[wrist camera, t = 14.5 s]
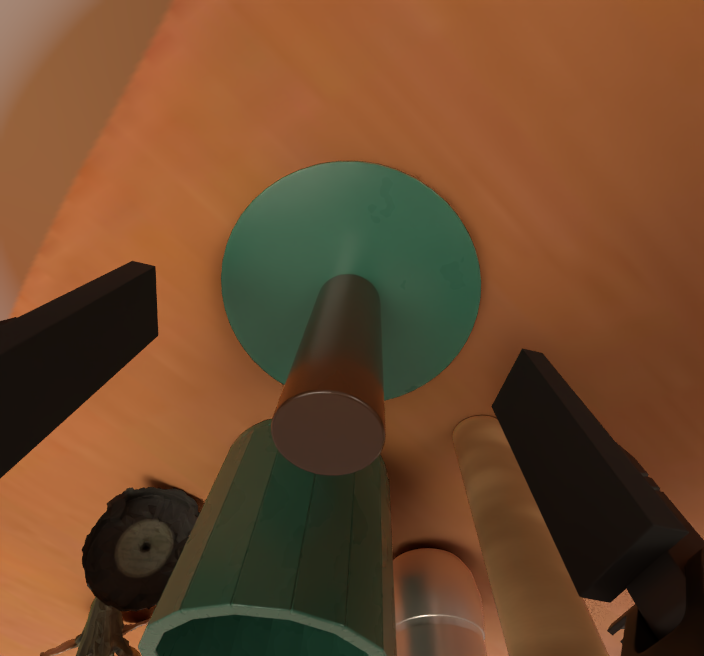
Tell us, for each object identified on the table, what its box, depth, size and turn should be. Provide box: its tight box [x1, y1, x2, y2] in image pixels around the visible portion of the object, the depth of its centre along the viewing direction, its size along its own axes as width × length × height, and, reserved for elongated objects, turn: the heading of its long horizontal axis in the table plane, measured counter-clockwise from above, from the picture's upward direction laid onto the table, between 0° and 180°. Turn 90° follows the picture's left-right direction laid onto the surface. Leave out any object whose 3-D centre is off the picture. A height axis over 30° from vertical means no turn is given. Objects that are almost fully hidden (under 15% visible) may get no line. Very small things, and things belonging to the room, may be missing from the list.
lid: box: [221, 161, 481, 476], centre depth 13 cm, size 11×11×9 cm
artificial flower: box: [40, 487, 200, 656], centre depth 26 cm, size 9×22×10 cm, turn 145°
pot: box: [138, 419, 397, 656], centre depth 19 cm, size 10×10×10 cm
